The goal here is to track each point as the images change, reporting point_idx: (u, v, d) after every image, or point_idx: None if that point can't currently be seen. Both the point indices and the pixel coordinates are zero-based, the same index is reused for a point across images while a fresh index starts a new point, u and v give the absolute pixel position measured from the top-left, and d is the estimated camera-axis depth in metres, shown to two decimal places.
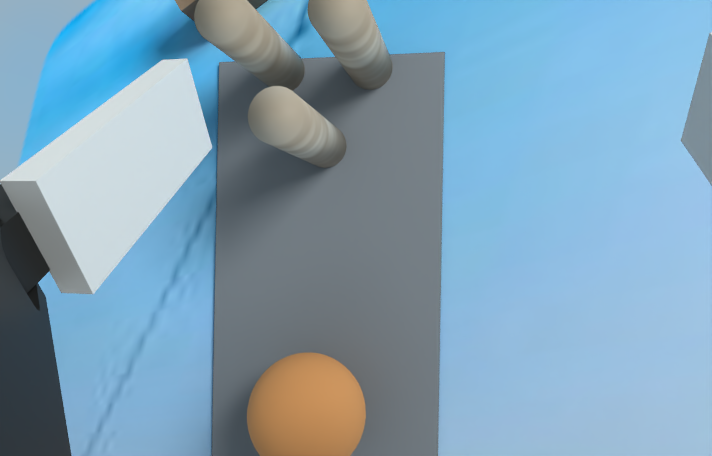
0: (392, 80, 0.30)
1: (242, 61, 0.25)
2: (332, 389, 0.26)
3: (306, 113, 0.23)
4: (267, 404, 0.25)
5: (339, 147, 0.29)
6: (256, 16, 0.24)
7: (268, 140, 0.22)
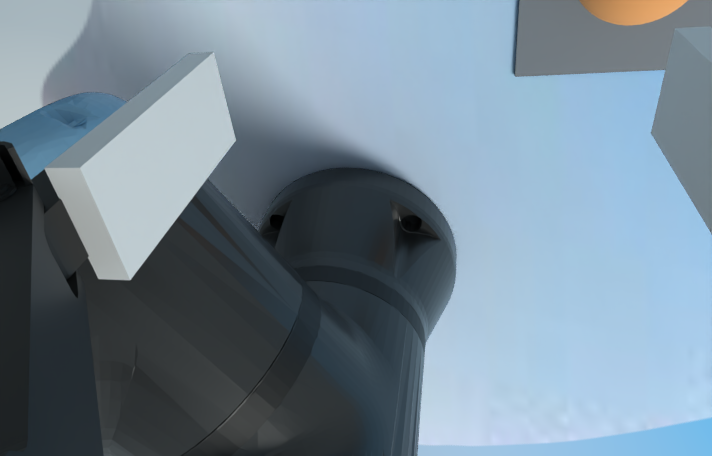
0: None
1: None
2: (684, 1, 0.24)
3: None
4: None
5: None
6: None
7: None
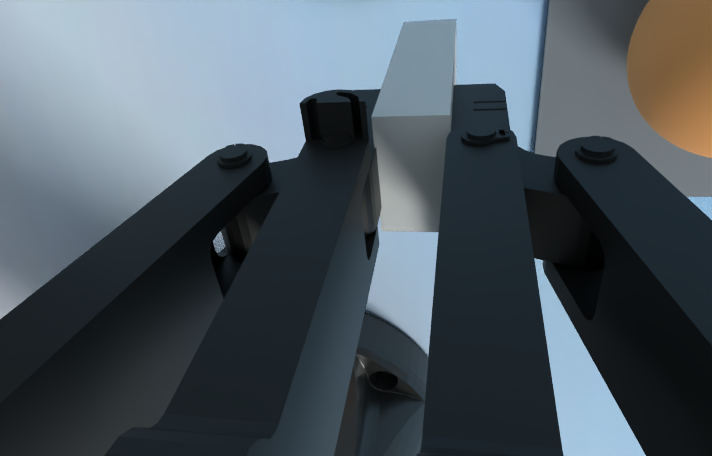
0: None
1: None
2: None
3: None
4: None
5: None
6: None
7: None
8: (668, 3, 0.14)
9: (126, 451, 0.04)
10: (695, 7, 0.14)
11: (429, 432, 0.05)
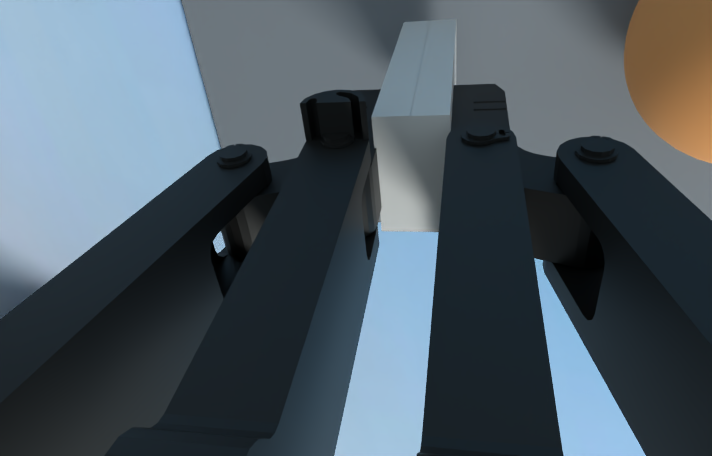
0: None
1: None
2: None
3: None
4: None
5: None
6: None
7: None
8: None
9: (126, 451, 0.04)
10: None
11: (429, 432, 0.05)
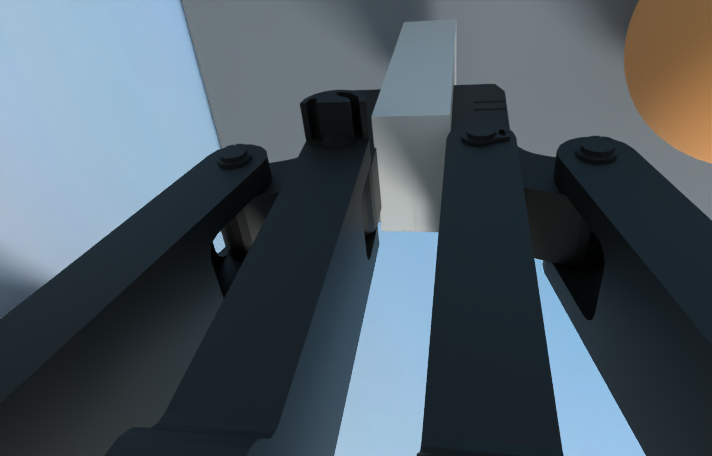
0: None
1: None
2: None
3: None
4: None
5: None
6: None
7: None
8: None
9: (126, 451, 0.04)
10: None
11: (428, 432, 0.05)
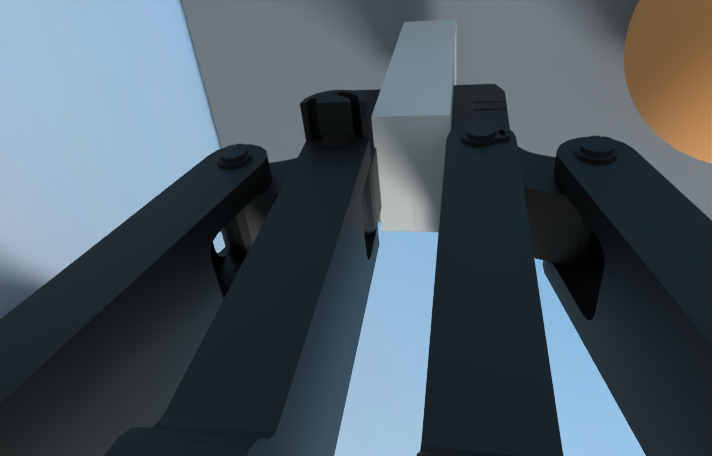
0: None
1: None
2: None
3: None
4: None
5: None
6: None
7: None
8: None
9: (126, 451, 0.04)
10: None
11: (428, 432, 0.05)
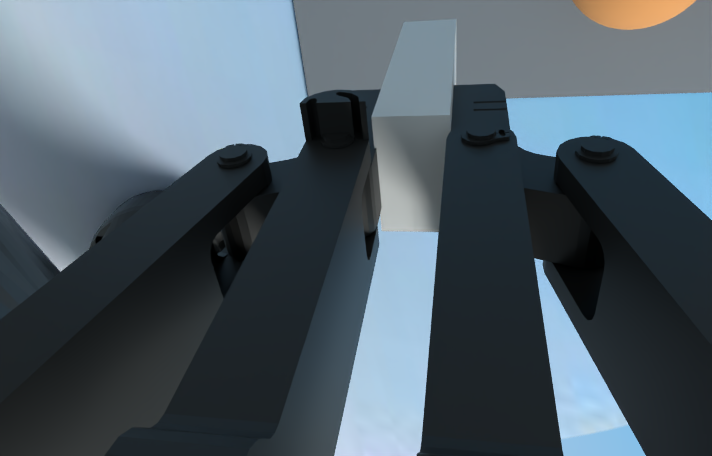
0: None
1: None
2: None
3: None
4: None
5: None
6: None
7: None
8: None
9: (126, 451, 0.04)
10: None
11: (429, 431, 0.05)
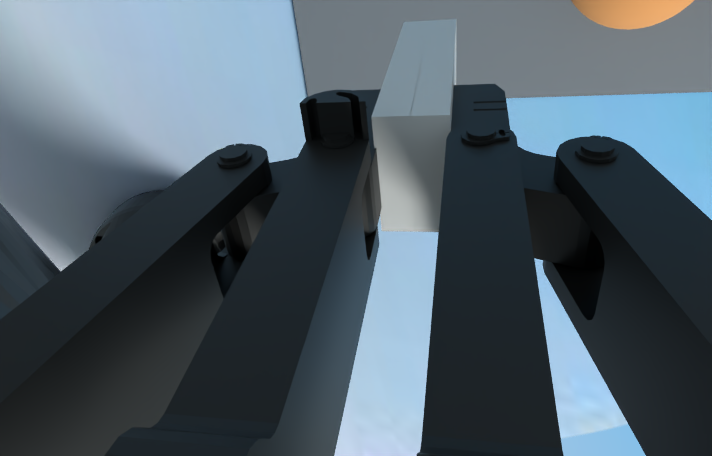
0: None
1: None
2: None
3: None
4: None
5: None
6: None
7: None
8: None
9: (126, 451, 0.04)
10: None
11: (429, 432, 0.05)
